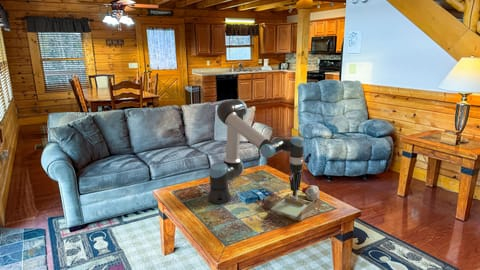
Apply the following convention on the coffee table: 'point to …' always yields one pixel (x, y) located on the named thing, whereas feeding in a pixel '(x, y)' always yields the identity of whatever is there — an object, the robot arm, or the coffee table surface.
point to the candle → (311, 192)
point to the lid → (289, 207)
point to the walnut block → (269, 202)
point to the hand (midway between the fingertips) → (294, 200)
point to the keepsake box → (304, 212)
